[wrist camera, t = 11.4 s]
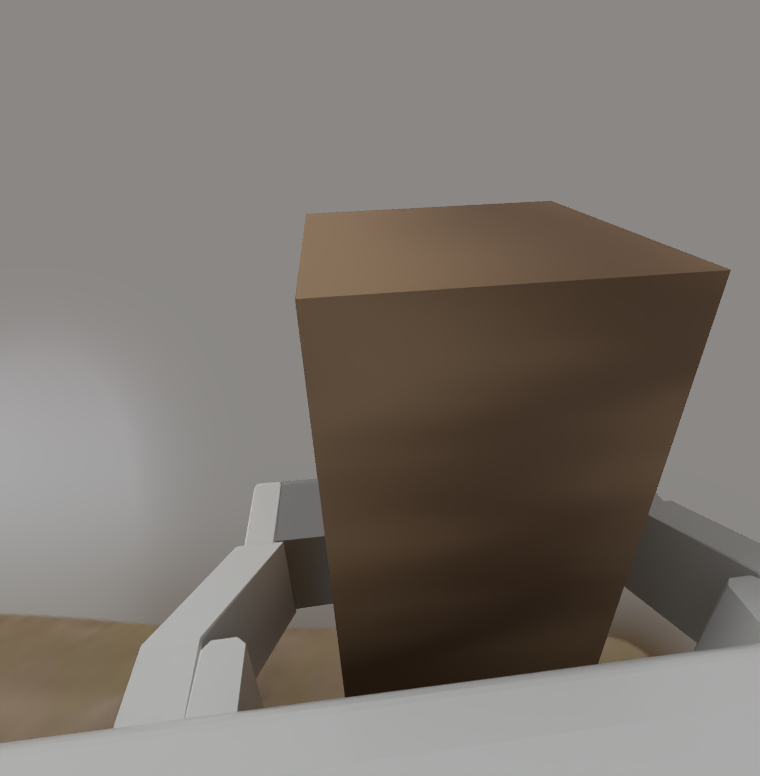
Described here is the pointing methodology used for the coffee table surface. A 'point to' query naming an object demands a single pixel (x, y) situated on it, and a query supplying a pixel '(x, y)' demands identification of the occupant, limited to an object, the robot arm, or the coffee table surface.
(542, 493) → the pillar
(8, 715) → the coffee table surface
